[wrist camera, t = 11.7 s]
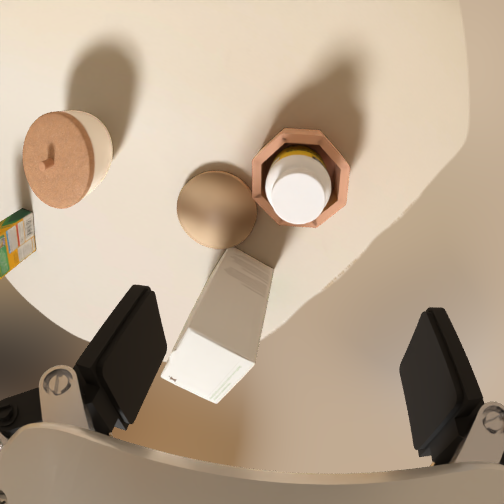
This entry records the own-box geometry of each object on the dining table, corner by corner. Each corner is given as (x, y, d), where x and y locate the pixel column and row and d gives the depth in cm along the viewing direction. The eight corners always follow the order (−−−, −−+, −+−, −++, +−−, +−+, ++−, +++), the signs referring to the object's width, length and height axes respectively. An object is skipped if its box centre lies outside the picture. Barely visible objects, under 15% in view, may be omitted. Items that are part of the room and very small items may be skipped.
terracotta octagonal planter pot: (259, 127, 30) (252, 132, 25) (344, 132, 29) (352, 138, 24) (258, 205, 34) (252, 223, 30) (337, 210, 33) (342, 229, 28)
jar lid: (177, 170, 33) (173, 172, 32) (257, 171, 32) (256, 173, 31) (183, 242, 38) (180, 246, 37) (256, 247, 36) (255, 251, 36)
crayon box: (21, 207, 39) (-29, 239, 29) (33, 211, 39) (-18, 246, 29) (25, 245, 43) (-19, 280, 33) (36, 250, 43) (-8, 287, 33)
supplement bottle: (334, 159, 29) (349, 186, 21) (309, 203, 32) (312, 246, 24) (286, 133, 29) (281, 150, 20) (263, 179, 32) (248, 214, 23)
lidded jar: (59, 111, 31) (7, 124, 23) (124, 98, 30) (73, 106, 22) (68, 187, 36) (22, 214, 28) (131, 186, 35) (87, 216, 27)
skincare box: (243, 311, 41) (217, 407, 28) (200, 287, 41) (156, 378, 27) (276, 267, 37) (259, 366, 24) (228, 239, 37) (185, 329, 23)
